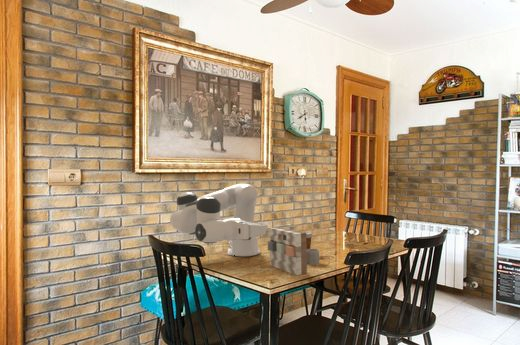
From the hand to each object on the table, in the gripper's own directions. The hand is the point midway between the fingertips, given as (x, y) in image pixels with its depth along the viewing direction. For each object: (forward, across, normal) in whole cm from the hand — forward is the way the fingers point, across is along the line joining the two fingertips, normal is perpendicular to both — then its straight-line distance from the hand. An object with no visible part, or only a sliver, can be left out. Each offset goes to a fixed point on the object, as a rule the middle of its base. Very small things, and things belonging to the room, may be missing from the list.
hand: (264, 226), depth 168 cm
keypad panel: (+17, -8, -22) cm, 29 cm away
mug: (+32, -11, -22) cm, 40 cm away
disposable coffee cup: (+42, -29, -22) cm, 55 cm away
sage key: (+14, -8, -14) cm, 21 cm away
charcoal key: (+14, -15, -14) cm, 25 cm away
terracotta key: (+14, 0, -14) cm, 20 cm away
